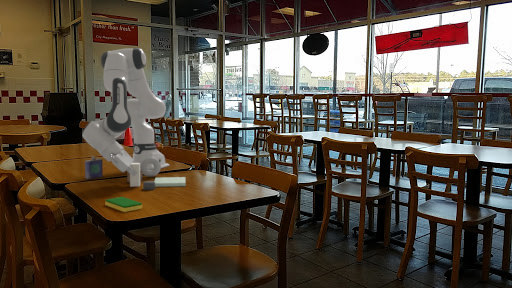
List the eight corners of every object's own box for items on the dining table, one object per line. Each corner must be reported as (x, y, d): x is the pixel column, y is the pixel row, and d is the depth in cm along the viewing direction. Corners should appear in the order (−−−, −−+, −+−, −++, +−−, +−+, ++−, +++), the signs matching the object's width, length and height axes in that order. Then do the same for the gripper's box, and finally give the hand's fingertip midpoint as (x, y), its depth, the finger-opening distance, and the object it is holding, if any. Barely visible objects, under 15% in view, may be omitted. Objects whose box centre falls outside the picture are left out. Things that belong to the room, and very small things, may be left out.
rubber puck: (148, 187, 182) (148, 180, 182) (157, 188, 180) (157, 181, 180) (140, 189, 178) (140, 182, 178) (149, 190, 176) (149, 183, 175)
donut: (160, 175, 211) (159, 156, 210) (161, 176, 208) (161, 157, 207) (140, 176, 207) (139, 156, 206) (141, 177, 204) (140, 157, 203)
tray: (155, 180, 197) (155, 177, 197) (185, 180, 199) (185, 177, 199) (153, 186, 183) (153, 183, 183) (185, 186, 186) (185, 182, 186)
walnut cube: (132, 180, 198) (132, 170, 197) (142, 180, 197) (142, 170, 196) (127, 182, 193) (127, 171, 192) (137, 182, 192) (137, 172, 191)
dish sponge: (124, 213, 142) (124, 206, 141) (104, 205, 151) (104, 199, 151) (142, 209, 147) (142, 202, 147) (122, 202, 156) (122, 196, 156)
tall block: (131, 184, 187) (130, 162, 186) (140, 184, 188) (140, 162, 187) (130, 186, 183) (129, 164, 182) (139, 186, 184) (139, 164, 183)
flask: (87, 179, 197) (86, 157, 196) (83, 179, 199) (83, 157, 198) (104, 176, 205) (103, 155, 204) (100, 176, 207) (99, 155, 206)
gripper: (114, 150, 172) (139, 172, 175) (121, 144, 192) (143, 165, 195) (103, 160, 172) (128, 183, 175) (111, 154, 192) (134, 174, 195)
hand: (136, 173), depth 185 cm, fingers open, 4 cm apart
